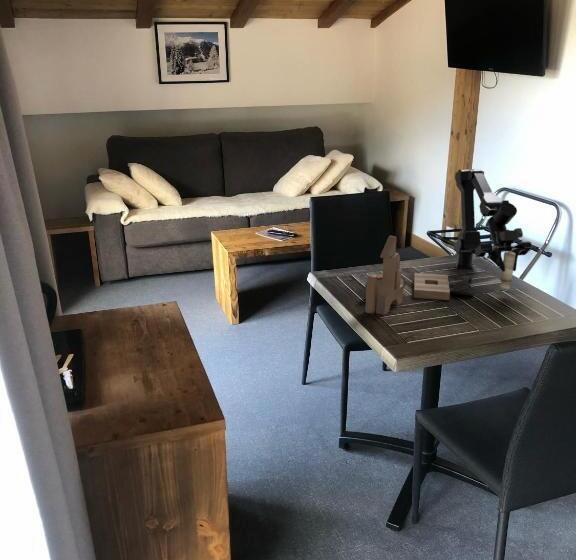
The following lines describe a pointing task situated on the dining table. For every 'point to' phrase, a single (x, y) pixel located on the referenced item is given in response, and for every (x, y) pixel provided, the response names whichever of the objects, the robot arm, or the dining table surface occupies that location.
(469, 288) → the hairbrush
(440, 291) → the brown box
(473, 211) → the robot arm
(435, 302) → the dining table surface
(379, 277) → the tin
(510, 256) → the cream ridged cylinder
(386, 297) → the wooden toy
